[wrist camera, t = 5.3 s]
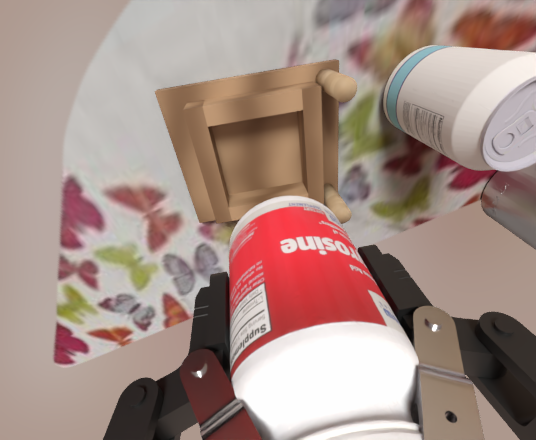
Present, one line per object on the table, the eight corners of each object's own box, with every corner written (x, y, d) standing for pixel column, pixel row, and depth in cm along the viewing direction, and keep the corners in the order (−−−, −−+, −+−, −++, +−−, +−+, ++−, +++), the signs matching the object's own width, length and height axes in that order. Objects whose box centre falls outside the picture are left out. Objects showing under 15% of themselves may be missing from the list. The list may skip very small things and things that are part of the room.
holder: (335, 59, 23) (363, 67, 18) (334, 193, 31) (355, 224, 26) (157, 89, 23) (138, 105, 18) (200, 217, 30) (195, 253, 26)
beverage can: (465, 83, 26) (612, 116, 16) (404, 141, 28) (498, 200, 18) (427, 24, 23) (580, 20, 13) (363, 95, 25) (449, 136, 15)
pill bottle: (360, 221, 15) (552, 493, 6) (295, 290, 18) (367, 555, 9) (268, 169, 13) (367, 488, 4) (208, 257, 16) (184, 575, 6)
